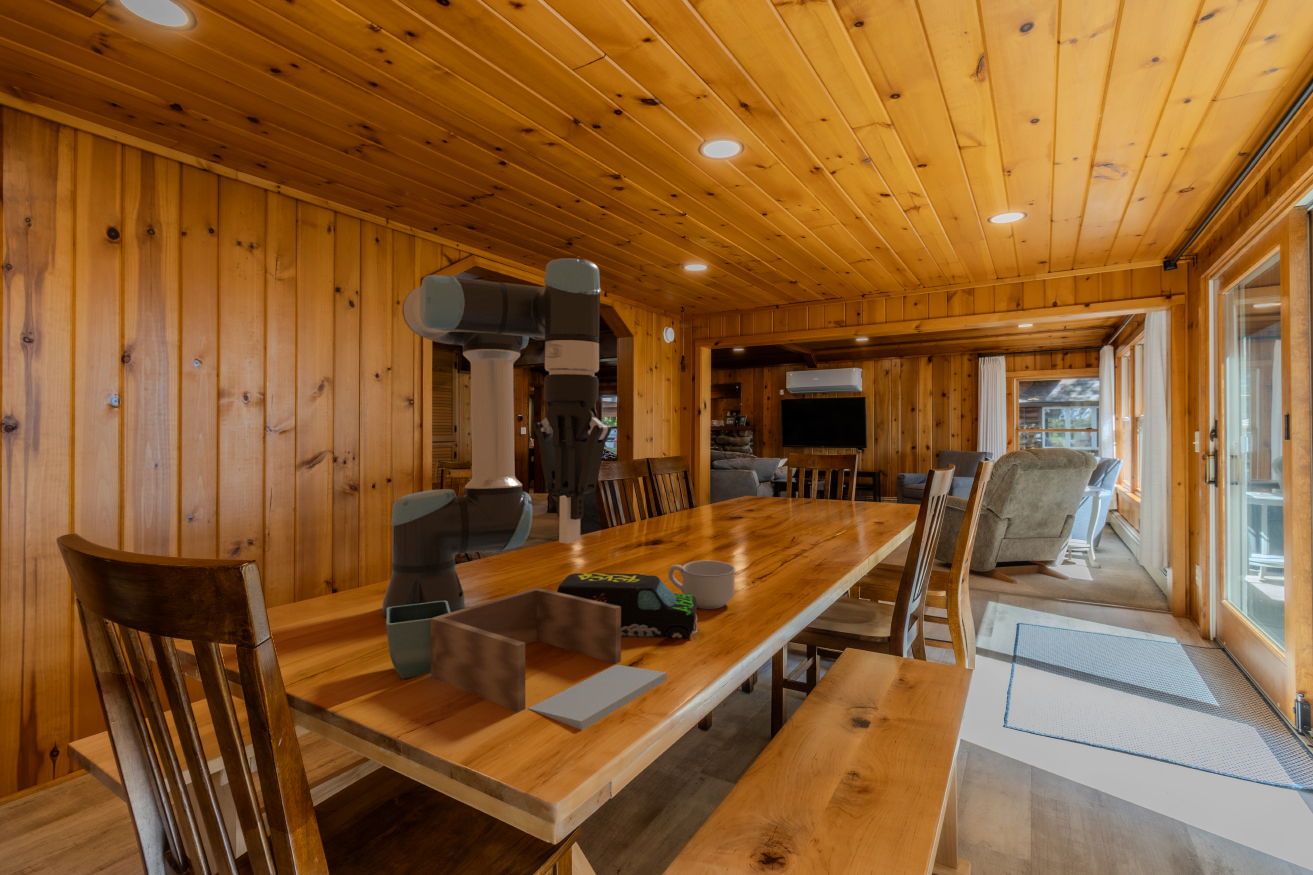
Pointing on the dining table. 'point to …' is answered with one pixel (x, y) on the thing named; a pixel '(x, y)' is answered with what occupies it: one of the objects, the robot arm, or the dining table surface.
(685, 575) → the teacup
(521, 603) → the crate
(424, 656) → the flower pot
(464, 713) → the dining table surface
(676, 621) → the toy van
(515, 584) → the dining table surface
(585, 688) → the panel
